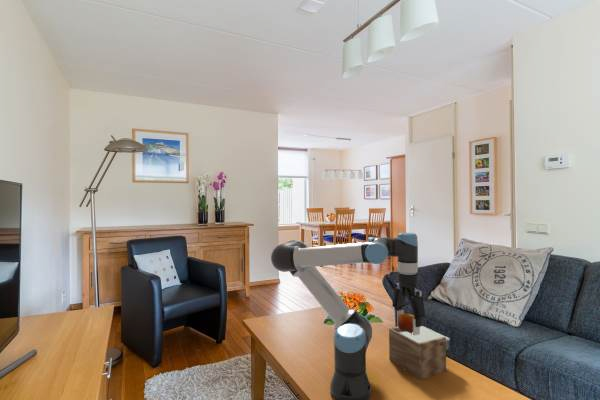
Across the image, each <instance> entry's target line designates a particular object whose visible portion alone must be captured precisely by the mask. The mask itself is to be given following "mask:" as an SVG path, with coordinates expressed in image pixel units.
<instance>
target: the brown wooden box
mask: <svg viewBox="0 0 600 400" xmlns="http://www.w3.org/2000/svg"><path fill="white" fill-rule="evenodd" d="M399 331H401V330H400V329H399V327H397V326H395V327H394V326H393V327H390V328H388V347H389V348H388V349H389V351H388V354H389V355H388V356H389V357H388V359H389V360H390V361H391V362H392V363H394V364H395V365H397V366H398V367H400V368H401V369H402V370H404V371H405V372H407V373H409V374H411V376H413V377H414V378H416V379H418V380H419V381H420V380H424V379H426V378H429V377H433V376H435V375H439V374H442V373H444V372H447V350H446V338H445V337H446V336H445V337H441V338H437V339H433V340H430V341H426V342H422V343H418V342H416V341H414V340H412V339H410V338H408V337H406V336H405V335H403V334H401V333H399Z"/></svg>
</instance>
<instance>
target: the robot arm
mask: <svg viewBox="0 0 600 400" xmlns="http://www.w3.org/2000/svg"><path fill="white" fill-rule="evenodd" d="M418 244H419V243H418V235H417V234H416V233H414V232H399V233H398V234H397V236H396V237H381V236H379V237H378V236H374V237H373V236H372V237H371V236H369V237H367V239H366V242H365V241H364V242H357V243H346V244H345V243H343V244H334V245H332V244H331V245H324V246H323V245H321V246H314V247H313V246H311V247H309V246H307V244H305V242H303V241H301V240H289V241H286V242H285V243H281V244H278V246H276V247H275V248H274V249H273V250H272V252H271V257H270V260H271V264H272V266H273V267H274V269H276V270H277V271H278V272H283V273H287V272H289V273H290V274H291V276H292V277H295V278H298V279H299V280H300V281H301V282H302V284H303V285H304V286H305V288H307V290H308V291H309V292H310V294H311V295H312V296H313V298H314V299H315V300H316V301H317V303H318V304H319V305H320V306H321V308H322V309H323V310H324V311H325V313H326V314H327V315H328V316H329V317H330V319H331V320H332V321H333V328H334V335H333V343H334V344H333V345H334V346H333V347H334V348H333V351H334V354H333V355H334V371H333V374H332V378H331V381H330V387H329V388H330V389H329V390H330V392H329V393H330V394H331V396H332V397H333V398H334V399H335V400H369V399H370V398H371V396H372V386H371V383H370V379H369V378H368V374H367V357H366V355H367V350H368V347H369V344H370V342H371V341H372V337H373V327H372V324H371V322H370V321H369V319H368V318H367V317H366V316H364V315H363V314H359V312H358V311H357V310H356V309H355V308H350V307H349V306H348V305H347V304H346V302H344V300H343V299H342V298H341V297H340V295H339V294H338V293H337V292H336V290H335V289H334V288H333V287H332V286H331V284H330V283H329V281H327V280H326V278H325V277H324V275H322V273H321V272H320V271H319V270H318V269H317V267H327V266H337V265H338V266H339V265H351V264H364V263H365V264H368V263H370V264H372V265H373V264H374V265H378V264H382V263H383V262H385V261H386V260H387V258H388V257H392V258H397V283H393V295H392V296H393V298H392V304H391V305H392V307H393V308H395V311H396V312H395V313H396V327H399V326H398V316H399V315H401V314H404V313H405V312H404V311H405V310H404V305H405V304H404V303H405V302H406V301H405V300H406V298H407V299H408V301H409V302H410V306H411V310H412V313H413V315H414V317H413V335H414V336H415V335H419V334H420V327H421V326H422V322H421V320H422V319H424V318H426V313H425V311H426V310H425V304H424V290H419V289H418V287H417V285H418V283H419V274H418V271H419V270H418V269H419V265H418V264H419V263H418V262H419V261H418V258H419V257H418V256H419V254H418V253H419V245H418Z"/></svg>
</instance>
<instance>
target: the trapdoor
mask: <svg viewBox="0 0 600 400" xmlns="http://www.w3.org/2000/svg"><path fill="white" fill-rule="evenodd" d="M399 333H401V334H403V335H405V336H406V337H408V338H410V339H412V340H414V341H416V342H418V343H422V342H426V341H430V340H433V339H437V338H441V337H445V338H446V351H448V350H449V349H450V342H449V341H451V338H449V337H448V336H445V335H443V334H441V333H439V332H436V331H434V330H432V329H430V328H428V327H427V326H426V327H425V326H424V325H421V326H420V334H419V335H415V336H414V335H413V332H412V335H411V333H409V332H401V331H399Z"/></svg>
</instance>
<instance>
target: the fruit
mask: <svg viewBox="0 0 600 400" xmlns="http://www.w3.org/2000/svg"><path fill="white" fill-rule="evenodd" d="M413 317H414V314H411V313H407V312H404V314H401V315H399V316H398V326H399V329H400V330H401V332H409V333H411V335H412V332H413Z"/></svg>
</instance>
